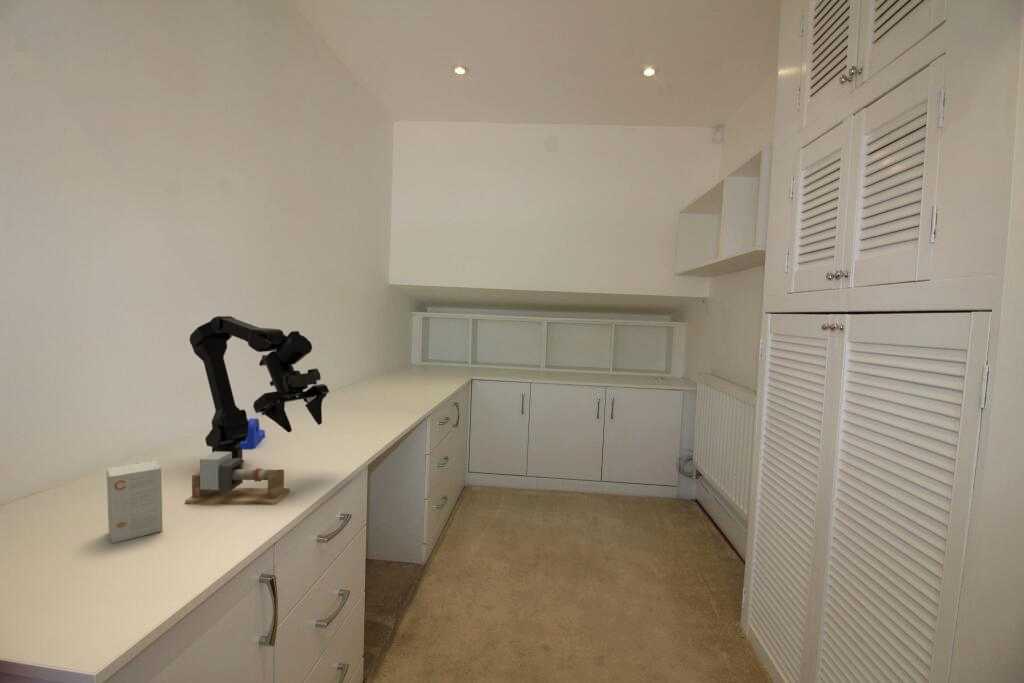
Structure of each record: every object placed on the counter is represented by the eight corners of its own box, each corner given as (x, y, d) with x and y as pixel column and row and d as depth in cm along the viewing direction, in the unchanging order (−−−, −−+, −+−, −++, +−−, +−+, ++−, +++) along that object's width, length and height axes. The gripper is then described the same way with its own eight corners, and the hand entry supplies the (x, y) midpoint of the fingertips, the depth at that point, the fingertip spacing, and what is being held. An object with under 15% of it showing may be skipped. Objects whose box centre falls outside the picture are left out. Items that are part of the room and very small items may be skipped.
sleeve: (200, 489, 112) (199, 459, 111) (214, 480, 118) (214, 451, 117) (218, 489, 112) (217, 459, 111) (231, 480, 118) (231, 451, 117)
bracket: (254, 449, 154) (253, 421, 153) (224, 450, 151) (224, 422, 151) (267, 434, 171) (267, 409, 170) (241, 435, 169) (240, 409, 168)
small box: (158, 521, 102) (156, 459, 101) (163, 531, 97) (161, 467, 96) (107, 532, 96) (105, 467, 95) (110, 544, 92) (108, 476, 91)
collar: (220, 491, 112) (220, 466, 112) (234, 482, 118) (233, 457, 118) (229, 491, 112) (229, 466, 112) (242, 482, 118) (242, 458, 118)
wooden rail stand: (185, 503, 111) (184, 473, 110) (205, 490, 119) (205, 462, 118) (275, 504, 112) (274, 474, 111) (289, 491, 120) (289, 463, 119)
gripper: (268, 361, 114) (293, 421, 111) (330, 355, 131) (353, 407, 128) (241, 383, 118) (265, 441, 116) (305, 374, 135) (327, 425, 132)
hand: (305, 427), depth 123 cm, fingers open, 9 cm apart
